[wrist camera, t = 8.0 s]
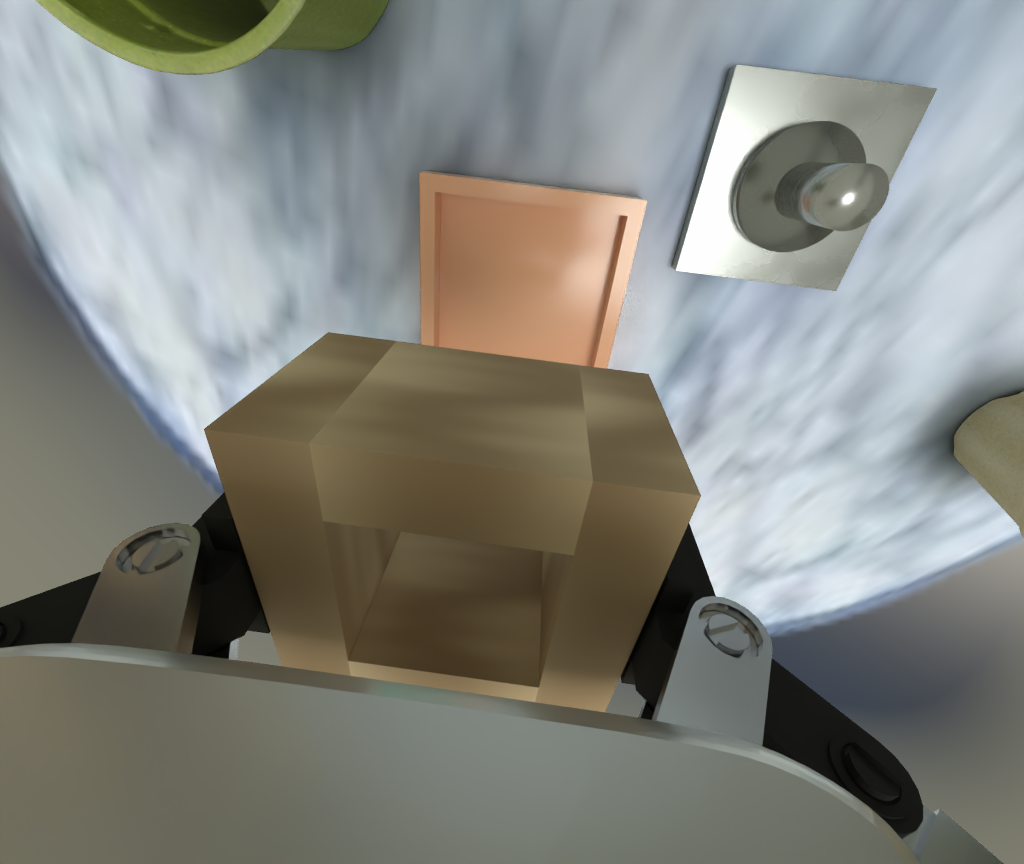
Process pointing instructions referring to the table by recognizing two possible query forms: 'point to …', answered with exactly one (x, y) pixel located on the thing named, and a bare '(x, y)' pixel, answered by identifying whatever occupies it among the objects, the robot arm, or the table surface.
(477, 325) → the terracotta tray
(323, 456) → the wooden ring
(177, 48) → the plant pot
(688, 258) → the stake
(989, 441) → the flower pot
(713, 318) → the table surface
